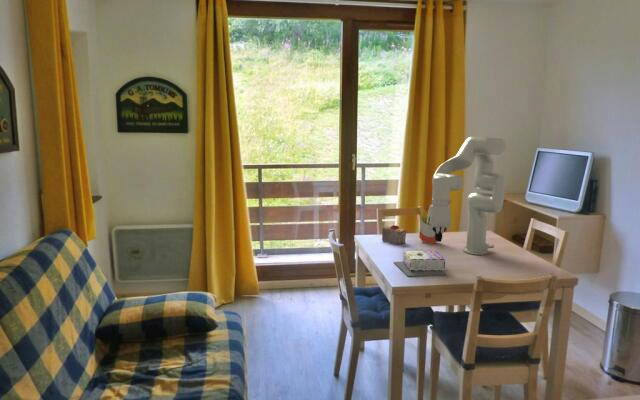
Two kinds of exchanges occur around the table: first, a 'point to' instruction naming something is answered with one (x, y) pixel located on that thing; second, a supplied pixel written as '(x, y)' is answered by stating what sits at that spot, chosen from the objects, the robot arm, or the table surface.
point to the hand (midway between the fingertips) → (438, 241)
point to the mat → (416, 273)
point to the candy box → (423, 261)
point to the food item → (393, 234)
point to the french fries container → (426, 230)
